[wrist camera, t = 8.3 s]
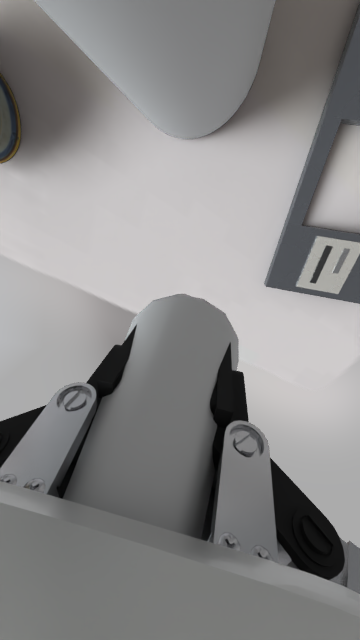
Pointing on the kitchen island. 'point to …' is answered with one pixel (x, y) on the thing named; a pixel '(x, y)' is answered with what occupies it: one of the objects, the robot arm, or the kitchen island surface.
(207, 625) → the robot arm
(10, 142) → the apothecary jar
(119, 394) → the salt shaker
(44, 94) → the kitchen island surface
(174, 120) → the cylinder vase
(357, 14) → the label board
